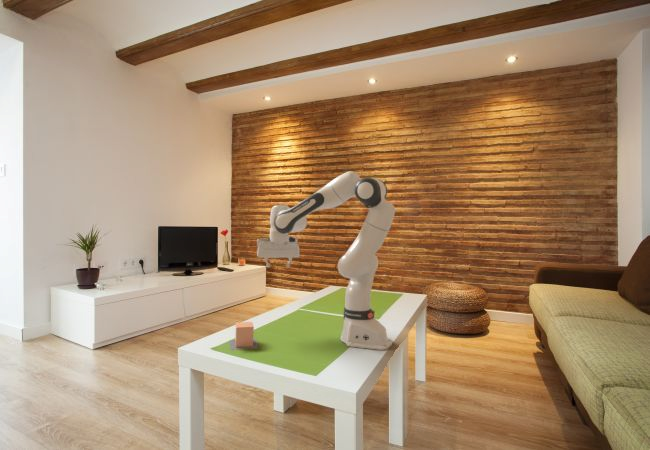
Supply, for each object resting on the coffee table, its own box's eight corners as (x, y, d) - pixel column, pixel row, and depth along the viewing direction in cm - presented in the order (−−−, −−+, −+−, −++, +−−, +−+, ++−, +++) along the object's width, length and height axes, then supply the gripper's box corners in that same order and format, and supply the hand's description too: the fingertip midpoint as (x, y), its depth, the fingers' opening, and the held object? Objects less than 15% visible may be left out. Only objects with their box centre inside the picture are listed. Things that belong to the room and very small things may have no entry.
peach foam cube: (251, 340, 149) (252, 321, 149) (253, 346, 142) (253, 326, 142) (235, 341, 147) (235, 322, 147) (235, 347, 140) (236, 327, 140)
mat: (256, 339, 151) (256, 338, 151) (258, 349, 141) (258, 347, 141) (229, 341, 148) (229, 340, 148) (230, 351, 138) (230, 349, 138)
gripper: (257, 238, 163) (256, 268, 163) (300, 238, 169) (299, 267, 169) (256, 237, 169) (255, 266, 169) (298, 238, 175) (297, 265, 175)
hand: (278, 266), depth 169 cm, fingers open, 8 cm apart
